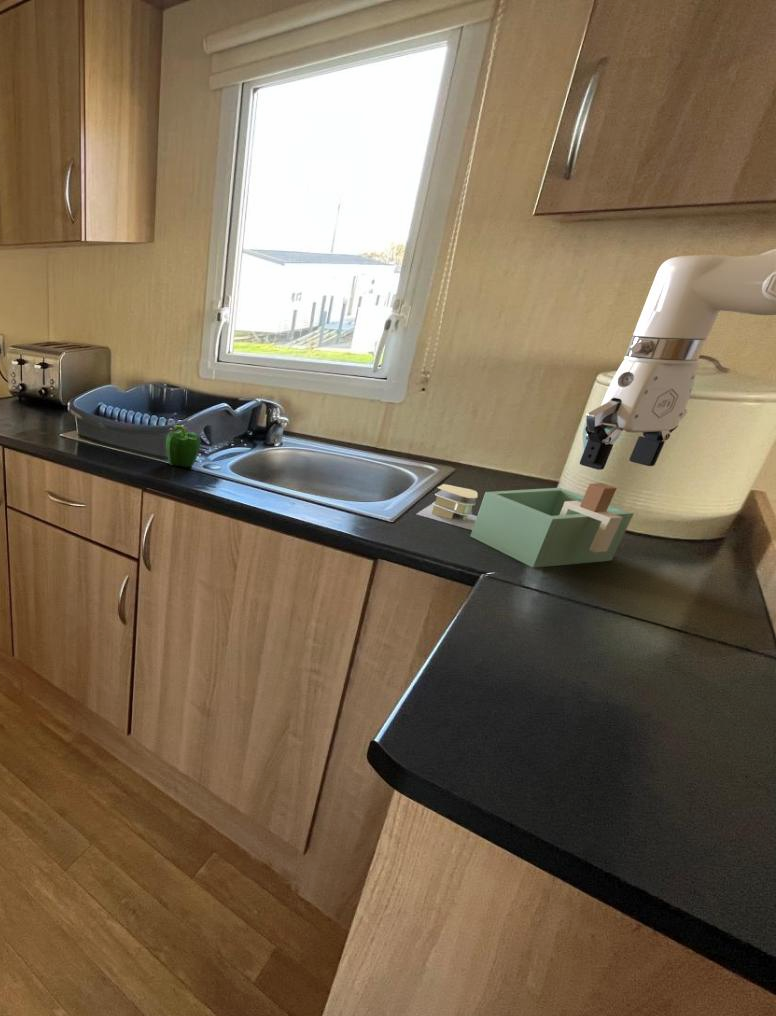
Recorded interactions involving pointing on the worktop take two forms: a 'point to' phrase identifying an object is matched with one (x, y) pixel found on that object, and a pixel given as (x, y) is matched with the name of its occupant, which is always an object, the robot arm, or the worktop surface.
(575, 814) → the worktop surface
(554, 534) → the tote
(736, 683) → the worktop surface
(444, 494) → the stacked layers on plate
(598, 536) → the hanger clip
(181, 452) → the bell pepper
